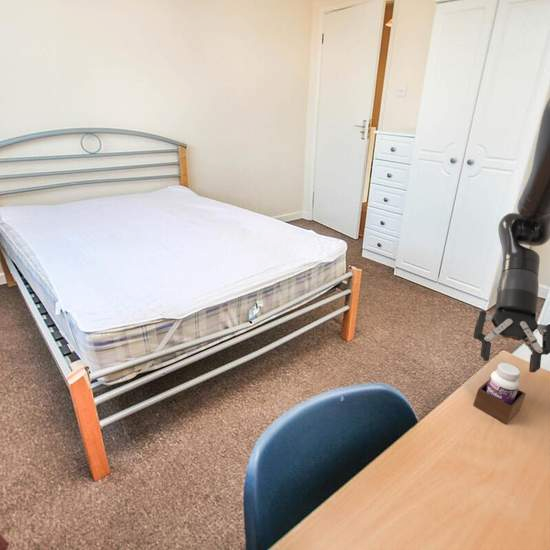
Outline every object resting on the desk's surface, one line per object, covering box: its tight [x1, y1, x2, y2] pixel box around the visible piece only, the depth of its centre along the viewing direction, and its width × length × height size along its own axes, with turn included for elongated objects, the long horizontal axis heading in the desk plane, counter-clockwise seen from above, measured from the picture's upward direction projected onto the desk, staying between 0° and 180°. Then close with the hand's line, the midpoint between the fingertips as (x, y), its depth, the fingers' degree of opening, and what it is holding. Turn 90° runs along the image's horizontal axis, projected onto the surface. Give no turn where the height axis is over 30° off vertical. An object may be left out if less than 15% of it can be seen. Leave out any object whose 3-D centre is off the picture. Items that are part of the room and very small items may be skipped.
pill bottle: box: [485, 362, 521, 405], centre depth 80 cm, size 5×5×10 cm
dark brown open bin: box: [472, 379, 527, 425], centre depth 81 cm, size 7×7×5 cm
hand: (508, 366), depth 79 cm, fingers open, 8 cm apart
